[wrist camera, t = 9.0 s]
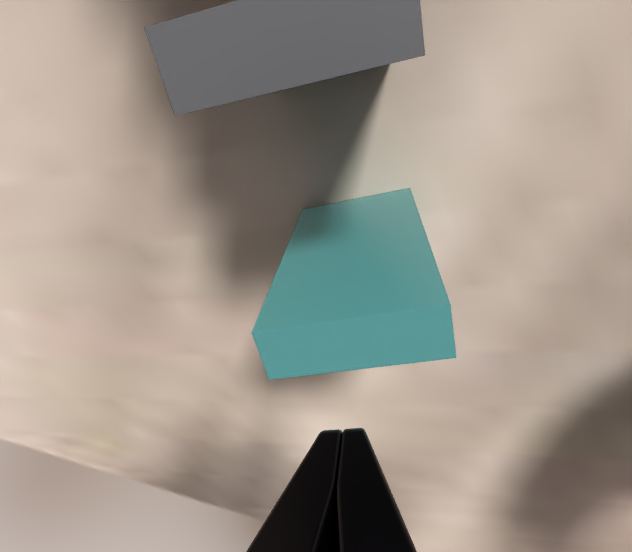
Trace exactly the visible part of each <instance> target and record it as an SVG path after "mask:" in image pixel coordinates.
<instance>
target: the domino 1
mask: <svg viewBox="0 0 632 552" xmlns="http://www.w3.org/2000/svg"><path fill="white" fill-rule="evenodd" d="M144 29H145V31H146V34H147V37H148V40H149V43H150V46H151V49H152V52H153V54H154V57H155V60H156V63H157V66H158V69H159V72H160V74H161V77H162V80H163V83H164V86H165V89H166V92H167V95H168V97H169V100H170V103H171V106H172V109H173V112H174V115H175V116H177V115H181V114H186V113H190V112H194V111H198V110H202V109H206V108H210V107H214V106H218V105H223V104H227V103H231V102H235V101H239V100H243V99H247V98H251V97H255V96H260V95H264V94H268V93H272V92H276V91H280V90H284V89H288V88H292V87H296V86H301V85H305V84H309V83H313V82H317V81H321V80H325V79H329V78H333V77H338V76H342V75H346V74H350V73H354V72H358V71H362V70H366V69H370V68H375V67H379V66H383V65H387V64H391V63H395V62H399V61H403V60H407V59H411V58H416V57H420V56H424V55H425V49H424V39H423V29H422V18H421V8H420V0H236V1H232V2H229V3H226V4H222V5H219V6H215V7H212V8H208V9H205V10H202V11H198V12H195V13H191V14H188V15H185V16H181V17H178V18H174V19H171V20H167V21H164V22H161V23H157V24H154V25H150V26H147V27H144Z"/></svg>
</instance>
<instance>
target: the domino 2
mask: <svg viewBox="0 0 632 552" xmlns="http://www.w3.org/2000/svg"><path fill="white" fill-rule="evenodd" d="M252 335H253V338H254V340H255V343H256V346H257V348H258V351H259V354H260V357H261V359H262V362H263V365H264V368H265V370H266V373H267V376H268V379H269V380H273V379H281V378H290V377H298V376H307V375H315V374H323V373H332V372H340V371H349V370H357V369H366V368H374V367H383V366H391V365H400V364H408V363H416V362H425V361H433V360H442V359H450V358H456V350H455V341H454V332H453V324H452V315H451V306H450V302H449V299H448V296H447V293H446V290H445V287H444V284H443V282H442V279H441V276H440V273H439V270H438V267H437V264H436V261H435V258H434V256H433V253H432V250H431V247H430V244H429V241H428V238H427V235H426V232H425V230H424V227H423V224H422V221H421V218H420V215H419V212H418V209H417V206H416V204H415V201H414V198H413V195H412V192H411V189H410V188H407V189H402V190H397V191H392V192H387V193H382V194H377V195H372V196H367V197H362V198H357V199H352V200H347V201H342V202H337V203H332V204H327V205H322V206H317V207H312V208H307V209H302V212H301V214H300V217H299V219H298V221H297V224H296V226H295V229H294V231H293V234H292V236H291V238H290V241H289V243H288V246H287V248H286V251H285V253H284V255H283V258H282V260H281V263H280V265H279V268H278V270H277V272H276V275H275V277H274V280H273V282H272V285H271V287H270V289H269V292H268V294H267V297H266V299H265V302H264V304H263V306H262V309H261V311H260V314H259V316H258V319H257V321H256V323H255V326H254V328H253V331H252Z"/></svg>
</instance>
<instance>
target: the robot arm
mask: <svg viewBox="0 0 632 552" xmlns="http://www.w3.org/2000/svg"><path fill="white" fill-rule="evenodd" d="M247 552H417V551H416V549H415V546H414V544H413V542H412V539H411V537H410V535H409V532H408V530H407V528H406V525H405V523H404V521H403V518H402V516H401V514H400V511H399V509H398V507H397V504H396V502H395V500H394V497H393V495H392V493H391V490H390V488H389V486H388V483H387V481H386V479H385V476H384V474H383V471H382V469H381V467H380V464H379V462H378V460H377V457H376V455H375V453H374V450H373V448H372V446H371V443H370V441H369V439H368V436H367V434H366V432H365V430H364V429H363V428H354V429H345V430H344V431H343V432H342V431H341V430H325V431H322V432H320V434H319V435H318V437H317V438H316V440H315V441H314V443H313V445H312V446H311V448H310V450H309V451H308V453H307V454H306V456H305V458H304V459H303V461H302V463H301V464H300V466H299V467H298V469H297V471H296V472H295V474H294V475H293V477H292V479H291V480H290V482H289V484H288V485H287V487H286V488H285V490H284V492H283V493H282V495H281V497H280V498H279V500H278V501H277V503H276V505H275V506H274V508H273V509H272V511H271V513H270V514H269V516H268V518H267V519H266V521H265V522H264V524H263V526H262V527H261V529H260V530H259V532H258V534H257V535H256V537H255V539H254V540H253V542H252V543H251V545H250V547H249V548H248V550H247Z"/></svg>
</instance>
